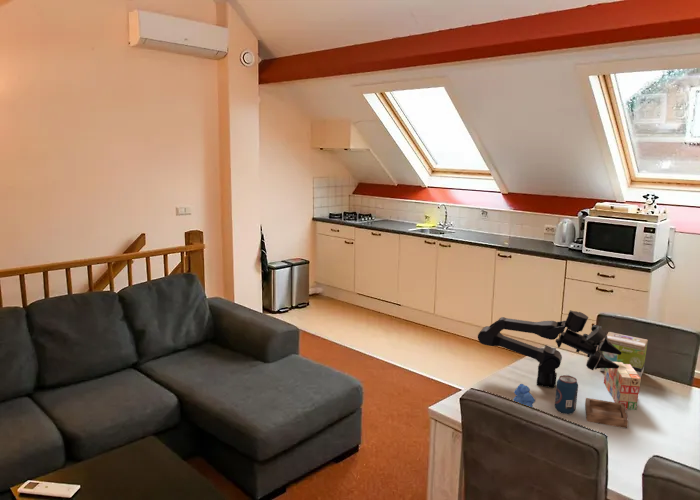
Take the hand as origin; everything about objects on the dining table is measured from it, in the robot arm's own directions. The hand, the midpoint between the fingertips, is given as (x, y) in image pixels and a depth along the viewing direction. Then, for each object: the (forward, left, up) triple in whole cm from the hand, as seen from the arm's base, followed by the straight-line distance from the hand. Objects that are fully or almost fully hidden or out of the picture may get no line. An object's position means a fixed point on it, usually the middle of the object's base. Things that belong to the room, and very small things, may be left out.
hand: (619, 360), depth 198 cm
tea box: (+4, +26, -15) cm, 30 cm away
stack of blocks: (+1, +2, -15) cm, 15 cm away
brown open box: (-5, -17, -15) cm, 23 cm away
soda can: (-18, -18, -15) cm, 29 cm away
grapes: (-31, -28, -15) cm, 44 cm away
